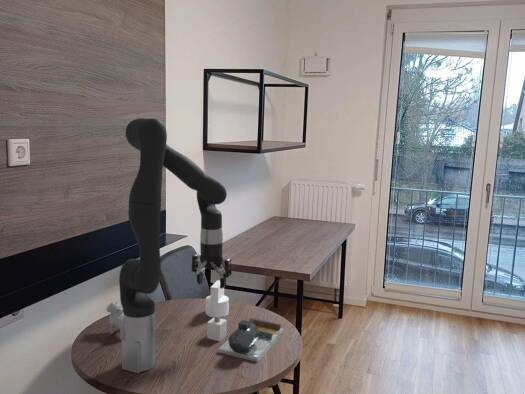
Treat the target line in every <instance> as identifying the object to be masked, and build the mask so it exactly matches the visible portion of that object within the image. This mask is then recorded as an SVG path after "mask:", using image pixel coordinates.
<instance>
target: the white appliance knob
mask: <svg viewBox="0 0 525 394" xmlns="http://www.w3.org/2000/svg"><path fill="white" fill-rule="evenodd" d="M229 302H230V298H229V297H228V296H227V295H225V287H224V288H223V289H222V288H220V279H219V280H216V281H215V282H214V283H213V284H212V285H211V286H210V295H208V296H206V297H205V315H206V316H208V317H210V318H214V317H215V316H220V318H224V317H226V315H227V316H228V315H229V311H230V309H229V306H230V304H229ZM223 316H224V317H223Z"/></svg>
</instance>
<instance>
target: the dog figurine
mask: <svg viewBox="0 0 525 394" xmlns="http://www.w3.org/2000/svg"><path fill="white" fill-rule="evenodd" d="M106 312H108V313H110V315H109V319H108V322H109V328H110V332H109V334H110V335H111V334H112V335H113V334H114V333H115V328H118V330H119V332H120V333H119V340H120V341H122V339H124V314H123V307H122V305H121V301H116V302H115V303H114V302H110V303H109V304H108V305H107V306H106Z"/></svg>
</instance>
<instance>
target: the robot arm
mask: <svg viewBox="0 0 525 394" xmlns="http://www.w3.org/2000/svg"><path fill="white" fill-rule="evenodd" d="M124 133H125V138H126V141H127V142H128V144H129V145H130V146H131V147H133V148H135V149H137V150H138V151H140V156H139V157H140V158H139V160H140V161H139V168H138V172H137V175H136V177H135V178H134V181H133V183H132V186H131V188H130V191H129V196H128V209H127V210H128V221H129V224H130V227H131V229H132V231H133V233H134V235H135V238H136V241H137V244H138V247H139V259H137V258H129V259H127V260H126V261H124V263H123V264H122V265H121V267H120V271H119V279H118V280H119V281H118V282H119V283H118V284H119V297H120V305H121V307H122V312H123V314H124V337H123V339H122V340H121V370H125V371H128V372H132V373H133V374H134V373H135V374H140V373H141V372H147V371H149V370H151V369H152V368H154V366H155V365H156V362H155V361H156V357H155V356H156V355H155V353H156V350H155V348H156V346H155V345H156V344H155V341H156V334H155V333H156V329H155V328H156V324H155V323H156V322H155V321H156V318H155V317H156V313H155V312H156V311H155V310H156V309H155V308H156V305H155V301H154V300H153V299H152V298H151V297H149V295H148V294H152V293H154V292H155V291H156V290H157V289H158V287H159V285H160V281H161V277H162V276H161V274H162V272H161V266H162V264H161V250H160V247H161V246H160V228H161V227H160V225H161V209H162V186H163V168H166V169H167V170H168V171H169V172H170V173H172V174H173V175H174V176H175V177H176V178H178V179H179V181H181V182H182V183H183V184H185V185H186V186H187V188H189V189H191V190H194V191H196V201H197V204H198V209H199V212H200V234H199V236H200V243H199V245H200V246H199V247H200V248H199V249H200V255H199V253H195V254H194V255H192V258H191V272H192V273H196V282H197V284H198V286H199V285H200V286H201V285H203V282H204V273H203V272H204V270H210V271H215V272H216V273H217V274H218V275H219V277H220V278H219V280H220V288H222V289H223V288H224V289H225V287H226V286H227V278H229V277H230V276H232V275H233V274H232V273H233V272H232V271H233V270H232V259H231V257H230V258H226V259H225V258H223V241H224V237H223V215H222V211H220V210H219V209H217V207H216V205H221V204H223V203H224V202H225V201H226V199H227V189H226V187H225V185H223V184H222V182H220V181H219V180H217V179H216V178H214V177H212V176H211V175H209V174H208V173H206V172H205V171H204V170H203V169H202V168H201V167H200V166H199V165H198V164H196V163H195V162H194V161H193V160H192V159H190V158H188V156H186V155H184V154H183V153H181V152H179V151H177V150H175V149H174V148H172V147H171V146H170V145H168V144H167V140H168V139H167V138H168V131H167V128H166V126H165V124H164V123H163V122H162V121H161V120H160V119H158V118H151V117H150V118H144V117H143V118H142V117H141V118H136V119H133V120H131V121H129V122H128V123H127V126H126V128H125V132H124ZM199 261H200V262H201V265H200V266H199Z"/></svg>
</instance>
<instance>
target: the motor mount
mask: <svg viewBox="0 0 525 394" xmlns="http://www.w3.org/2000/svg"><path fill="white" fill-rule="evenodd" d="M237 324H238V328H236V329H235V330H234V331H233V332H232V333H231V334H230V335H229V337H228V339H227V340H226V341H225V342H224V343H223V344H222V345H220V346H219V348H218V354H223V355H227V356H232V357H236V358H240V359H245V360H247V361H252V362H256V363H258V362H259V361H260V360H261V359H262V358H263V357H264V355H266V353H267V352H268V351H269V350H270V349H271V348H272V347H273V346H274V344H275V343H276V342H277V341H278V340H279V339H278V338H280V337H281V336H283V334H284V331H285V330H284V328H282V324H281V323H277V322H273V321H268V320H263V319H258V318H254V317H250V318H249V321H248V320H246V319H245V320H244V319H242V320H241V321H239V322H238V323H237Z"/></svg>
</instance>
